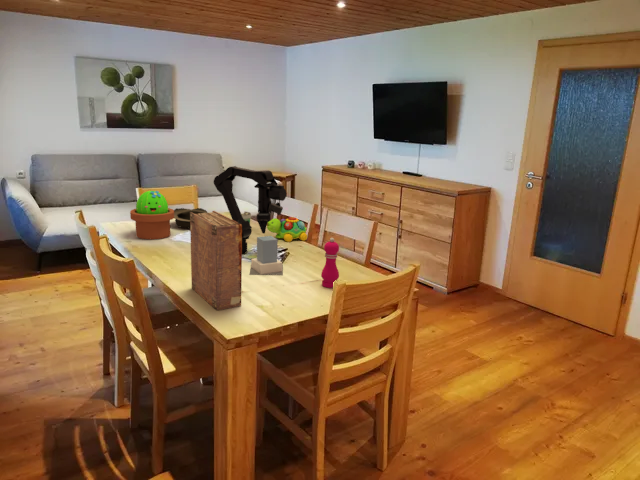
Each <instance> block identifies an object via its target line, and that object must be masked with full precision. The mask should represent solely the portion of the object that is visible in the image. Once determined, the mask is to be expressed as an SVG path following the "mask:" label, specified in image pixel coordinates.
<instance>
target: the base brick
mask: <svg viewBox="0 0 640 480" xmlns="http://www.w3.org/2000/svg"><path fill="white" fill-rule="evenodd" d="M282 265H283V262H282V261H281V260H279V259H277V262H273V263H265V264H263V263H261V262H260V261H258V260H257V257H255V258H251V265H250V268H253V269H254V270H255V271H257V272H258V273H259V274H267V273H274V272H282Z"/></svg>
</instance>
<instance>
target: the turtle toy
mask: <svg viewBox="0 0 640 480" xmlns="http://www.w3.org/2000/svg"><path fill="white" fill-rule="evenodd" d="M305 226H306V225H305V222H303V221H301V220H299V219H298V218H297V217H293V216H289V217H288V218H286V219H285V218H282V219H278V218H275V217H274V218H272V219H271V220H270V221H269V222H268V223H267V226H266V229H267V231H268V232H270V233H274V234H275V233H276V234H275V238H276V239H283V240H284V241H285V242H287V243H290V242H292V241H293V240H295V239H298V240H300V241H302V242H304V241H306V240H307V239H308V234H307V232H306V231H307V227H305Z"/></svg>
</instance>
